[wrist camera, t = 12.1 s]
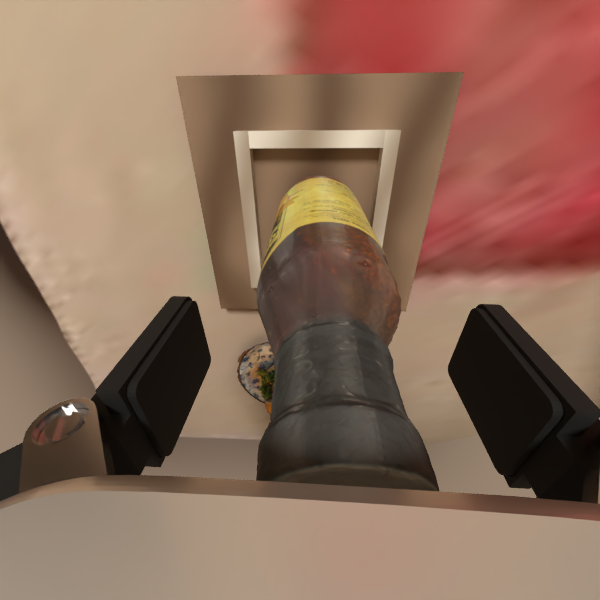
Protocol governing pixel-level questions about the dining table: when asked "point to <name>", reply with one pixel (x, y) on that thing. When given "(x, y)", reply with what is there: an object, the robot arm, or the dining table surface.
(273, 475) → the sauce bottle
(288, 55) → the dining table surface
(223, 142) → the walnut board
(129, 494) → the robot arm
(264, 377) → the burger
